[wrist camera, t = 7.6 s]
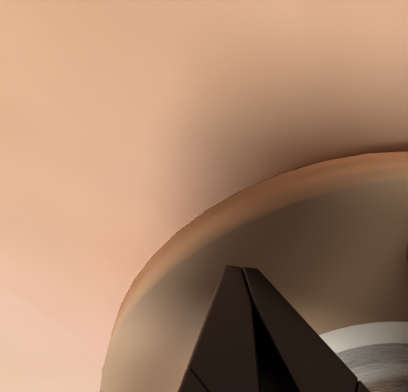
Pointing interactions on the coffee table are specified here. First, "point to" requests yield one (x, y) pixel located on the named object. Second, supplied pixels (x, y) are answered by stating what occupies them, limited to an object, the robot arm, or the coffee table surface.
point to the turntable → (276, 266)
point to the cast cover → (379, 366)
